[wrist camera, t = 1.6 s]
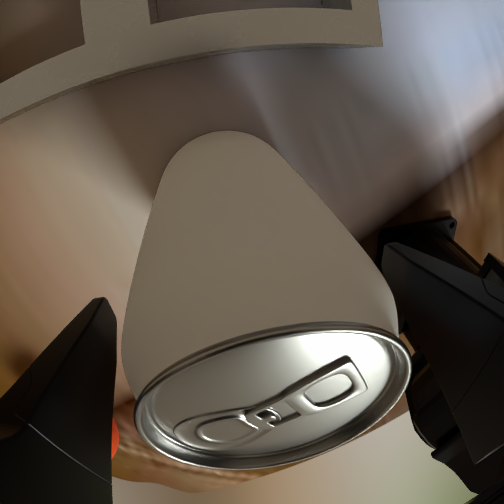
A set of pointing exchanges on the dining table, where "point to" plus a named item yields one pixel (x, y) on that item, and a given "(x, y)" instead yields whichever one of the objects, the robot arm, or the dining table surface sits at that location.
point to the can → (254, 316)
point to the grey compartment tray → (182, 42)
